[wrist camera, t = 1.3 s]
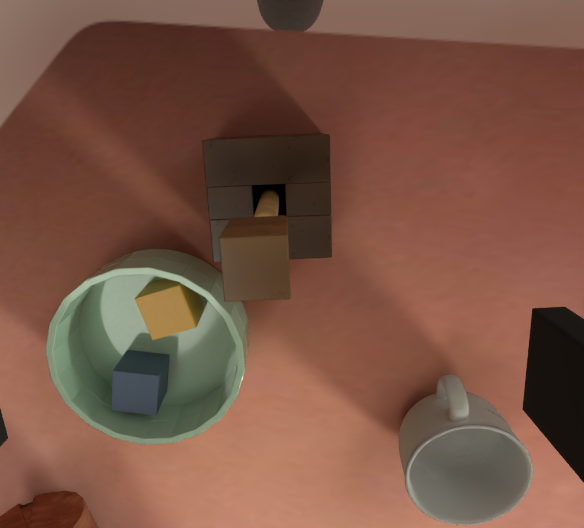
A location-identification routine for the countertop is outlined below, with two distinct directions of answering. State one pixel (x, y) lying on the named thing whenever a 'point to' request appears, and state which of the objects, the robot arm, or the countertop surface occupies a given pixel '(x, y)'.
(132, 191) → the countertop surface
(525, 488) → the teacup
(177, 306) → the mustard block
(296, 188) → the holder
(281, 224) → the brown wooden peg
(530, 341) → the robot arm
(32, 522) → the potted plant
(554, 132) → the countertop surface
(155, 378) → the slate block
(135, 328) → the bowl
